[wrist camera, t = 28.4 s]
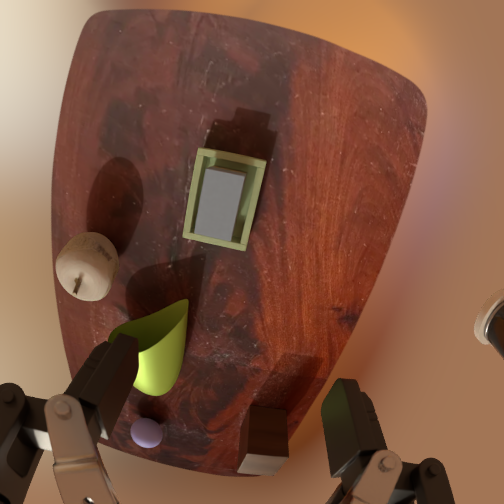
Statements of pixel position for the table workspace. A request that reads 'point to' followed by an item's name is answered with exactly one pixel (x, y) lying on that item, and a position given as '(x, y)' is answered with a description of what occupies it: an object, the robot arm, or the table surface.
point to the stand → (263, 441)
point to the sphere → (146, 432)
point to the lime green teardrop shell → (158, 346)
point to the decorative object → (87, 266)
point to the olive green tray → (248, 200)
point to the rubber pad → (219, 203)
